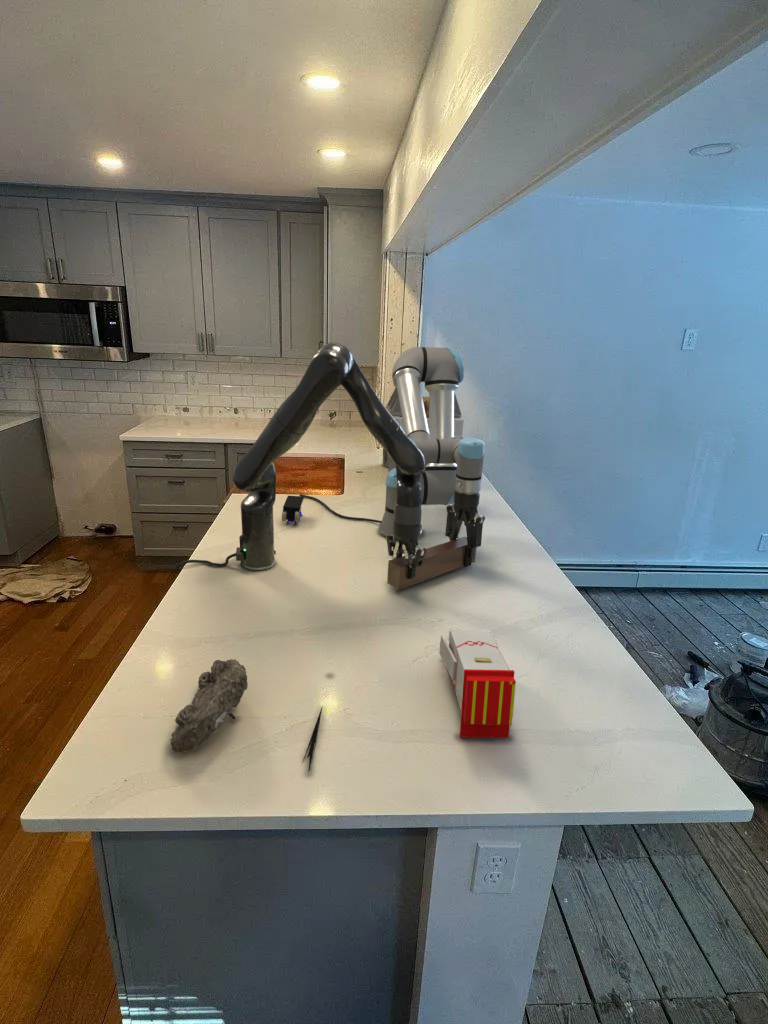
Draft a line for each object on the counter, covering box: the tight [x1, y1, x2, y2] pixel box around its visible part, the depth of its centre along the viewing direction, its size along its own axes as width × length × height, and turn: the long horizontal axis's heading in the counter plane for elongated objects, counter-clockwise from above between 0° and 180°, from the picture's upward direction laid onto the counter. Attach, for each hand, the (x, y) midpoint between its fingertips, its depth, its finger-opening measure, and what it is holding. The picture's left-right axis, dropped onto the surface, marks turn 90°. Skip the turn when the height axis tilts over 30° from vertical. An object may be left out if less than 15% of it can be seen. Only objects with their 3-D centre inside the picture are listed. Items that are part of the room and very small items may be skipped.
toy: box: [438, 628, 517, 738], centre depth 117 cm, size 12×13×30 cm
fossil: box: [170, 658, 249, 753], centre depth 106 cm, size 22×10×15 cm
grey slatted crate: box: [381, 387, 464, 472], centre depth 268 cm, size 34×33×41 cm
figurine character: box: [281, 495, 305, 526], centre depth 206 cm, size 7×8×15 cm
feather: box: [301, 673, 332, 771], centre depth 108 cm, size 2×28×2 cm
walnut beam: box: [386, 536, 478, 590], centre depth 167 cm, size 5×32×7 cm, turn 131°
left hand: (404, 574), depth 160 cm, fingers closed on walnut beam, 5 cm apart
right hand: (460, 562), depth 176 cm, fingers closed on walnut beam, 5 cm apart
